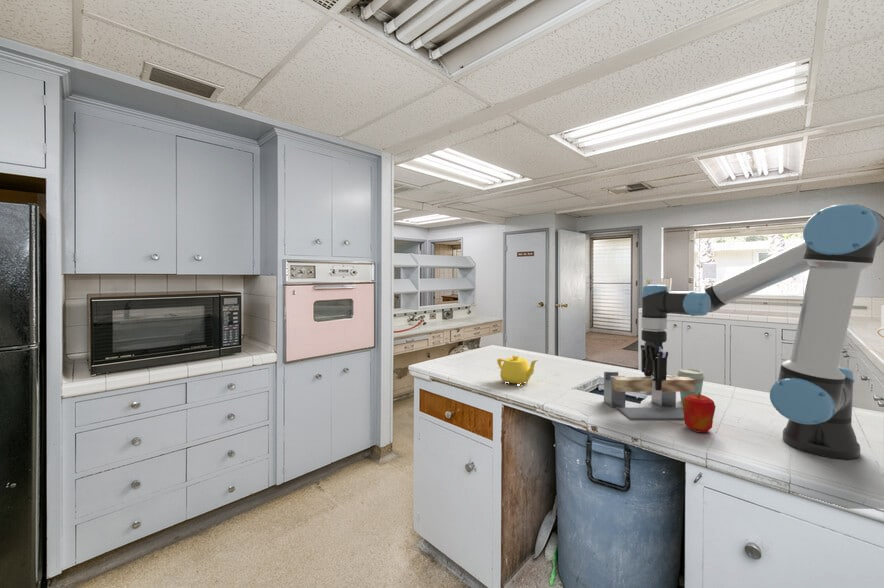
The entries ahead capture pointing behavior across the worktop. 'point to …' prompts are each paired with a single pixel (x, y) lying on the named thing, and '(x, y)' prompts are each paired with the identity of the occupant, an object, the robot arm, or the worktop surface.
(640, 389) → the rail
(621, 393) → the rack
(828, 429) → the robot arm
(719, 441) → the worktop surface
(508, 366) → the teapot
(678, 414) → the mat
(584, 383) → the worktop surface
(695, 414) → the apple
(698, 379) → the coffee cup
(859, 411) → the worktop surface
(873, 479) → the worktop surface
